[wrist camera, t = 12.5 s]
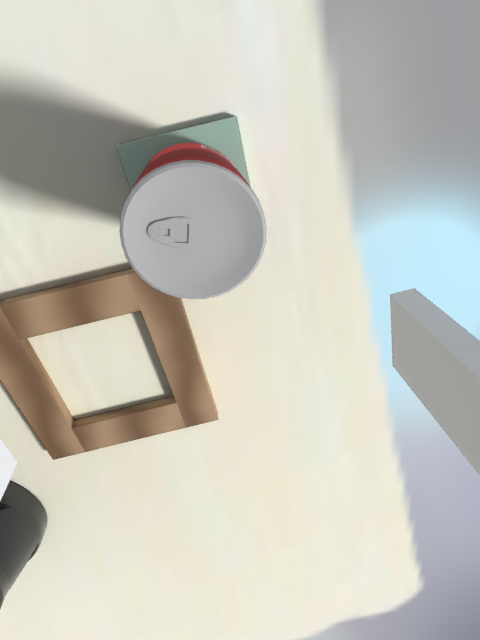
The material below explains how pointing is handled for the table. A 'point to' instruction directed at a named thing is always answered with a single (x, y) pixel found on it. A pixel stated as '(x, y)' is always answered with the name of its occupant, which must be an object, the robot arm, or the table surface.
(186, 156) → the canned food
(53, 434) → the pocket board
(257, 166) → the table surface
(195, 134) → the plate
